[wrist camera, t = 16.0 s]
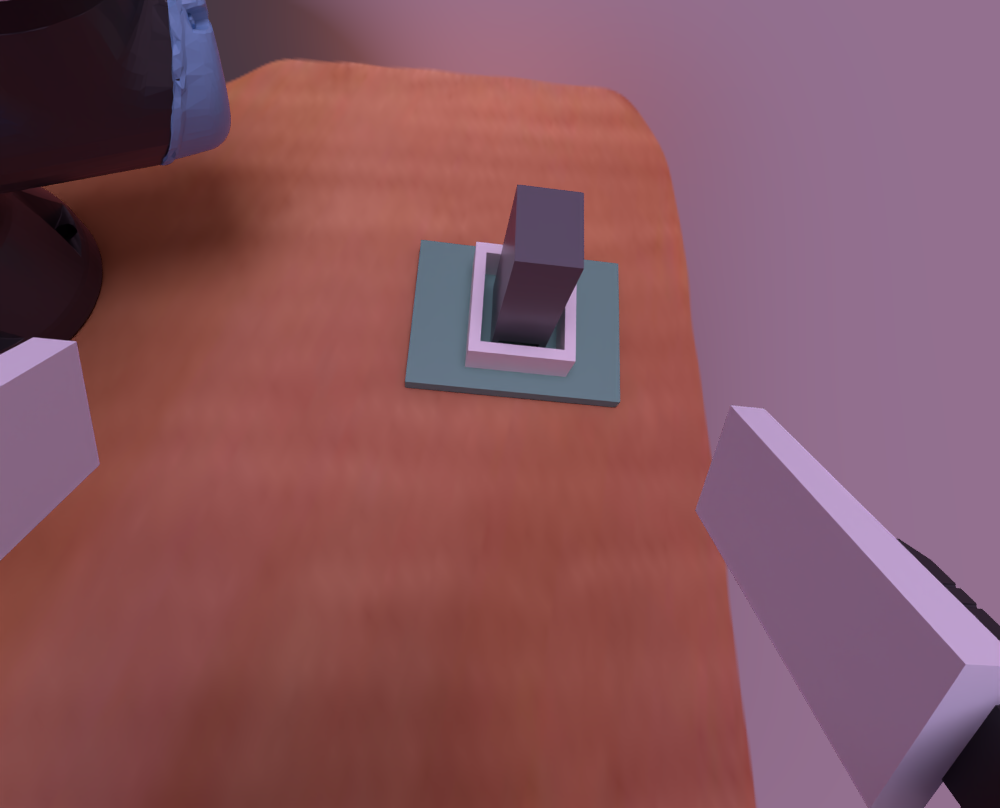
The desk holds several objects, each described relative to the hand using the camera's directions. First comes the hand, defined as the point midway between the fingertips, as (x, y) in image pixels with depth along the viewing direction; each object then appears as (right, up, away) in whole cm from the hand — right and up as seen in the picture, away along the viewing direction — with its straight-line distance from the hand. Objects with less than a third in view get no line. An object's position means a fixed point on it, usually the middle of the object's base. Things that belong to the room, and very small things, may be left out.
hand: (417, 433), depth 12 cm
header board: (+3, +7, +34) cm, 35 cm away
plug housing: (+3, +7, +33) cm, 34 cm away
